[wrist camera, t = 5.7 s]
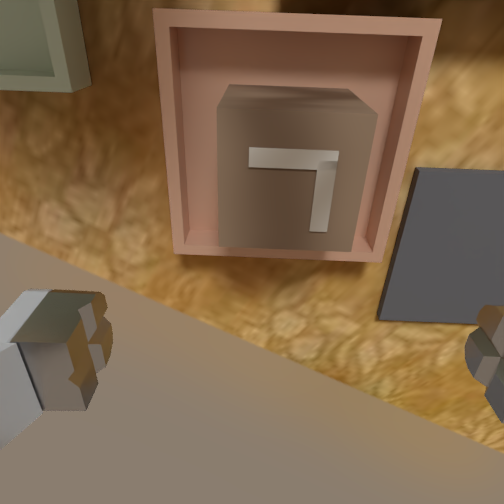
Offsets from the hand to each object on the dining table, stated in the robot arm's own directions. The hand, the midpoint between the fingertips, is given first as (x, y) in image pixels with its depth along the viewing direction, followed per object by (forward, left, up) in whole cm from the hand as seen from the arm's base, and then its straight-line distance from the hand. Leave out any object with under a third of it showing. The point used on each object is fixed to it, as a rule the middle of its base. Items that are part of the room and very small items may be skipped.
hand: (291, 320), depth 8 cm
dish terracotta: (0, 0, -13) cm, 13 cm away
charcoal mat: (-12, +6, -13) cm, 19 cm away
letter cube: (0, 0, -13) cm, 13 cm away
